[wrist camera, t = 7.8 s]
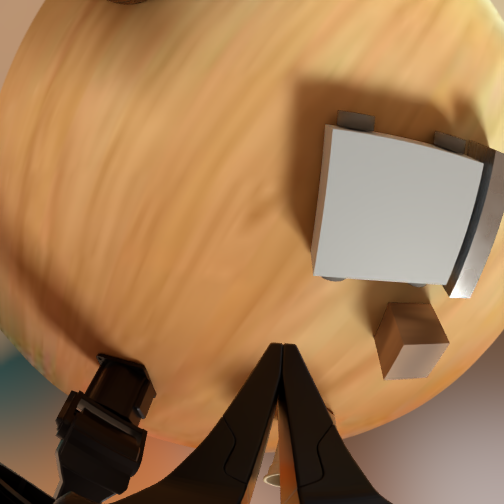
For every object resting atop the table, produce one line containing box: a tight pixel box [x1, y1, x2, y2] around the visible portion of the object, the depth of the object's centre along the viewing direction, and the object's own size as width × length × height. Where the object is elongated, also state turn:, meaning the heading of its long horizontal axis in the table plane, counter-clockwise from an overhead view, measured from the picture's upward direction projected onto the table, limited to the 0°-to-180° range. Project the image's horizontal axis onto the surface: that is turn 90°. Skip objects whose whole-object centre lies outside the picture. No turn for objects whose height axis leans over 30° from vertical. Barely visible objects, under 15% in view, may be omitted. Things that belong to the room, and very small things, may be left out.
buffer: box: [442, 141, 504, 298], centre depth 14 cm, size 2×10×3 cm, turn 178°
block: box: [374, 302, 449, 380], centre depth 19 cm, size 4×4×4 cm
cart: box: [311, 110, 484, 287], centre depth 15 cm, size 9×10×3 cm
